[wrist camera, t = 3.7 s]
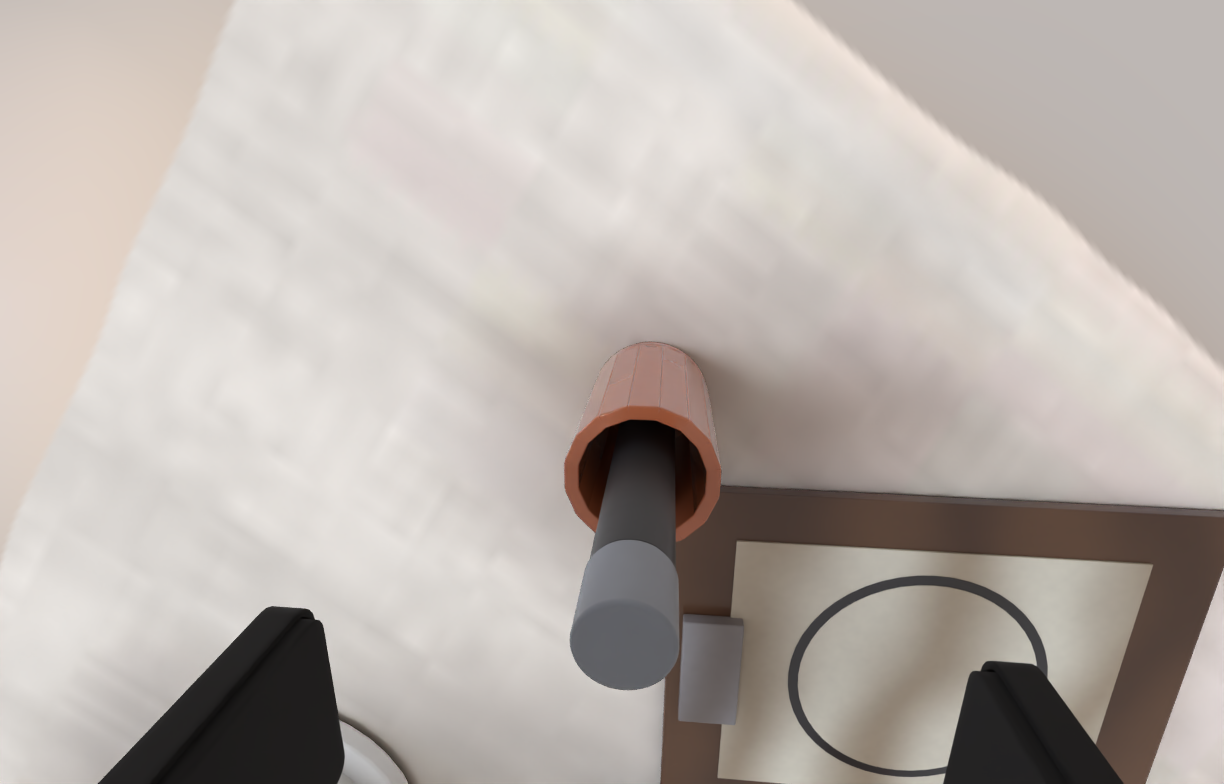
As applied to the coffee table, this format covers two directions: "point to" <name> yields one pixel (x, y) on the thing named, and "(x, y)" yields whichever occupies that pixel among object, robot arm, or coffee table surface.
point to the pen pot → (647, 390)
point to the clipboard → (921, 628)
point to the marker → (632, 566)
